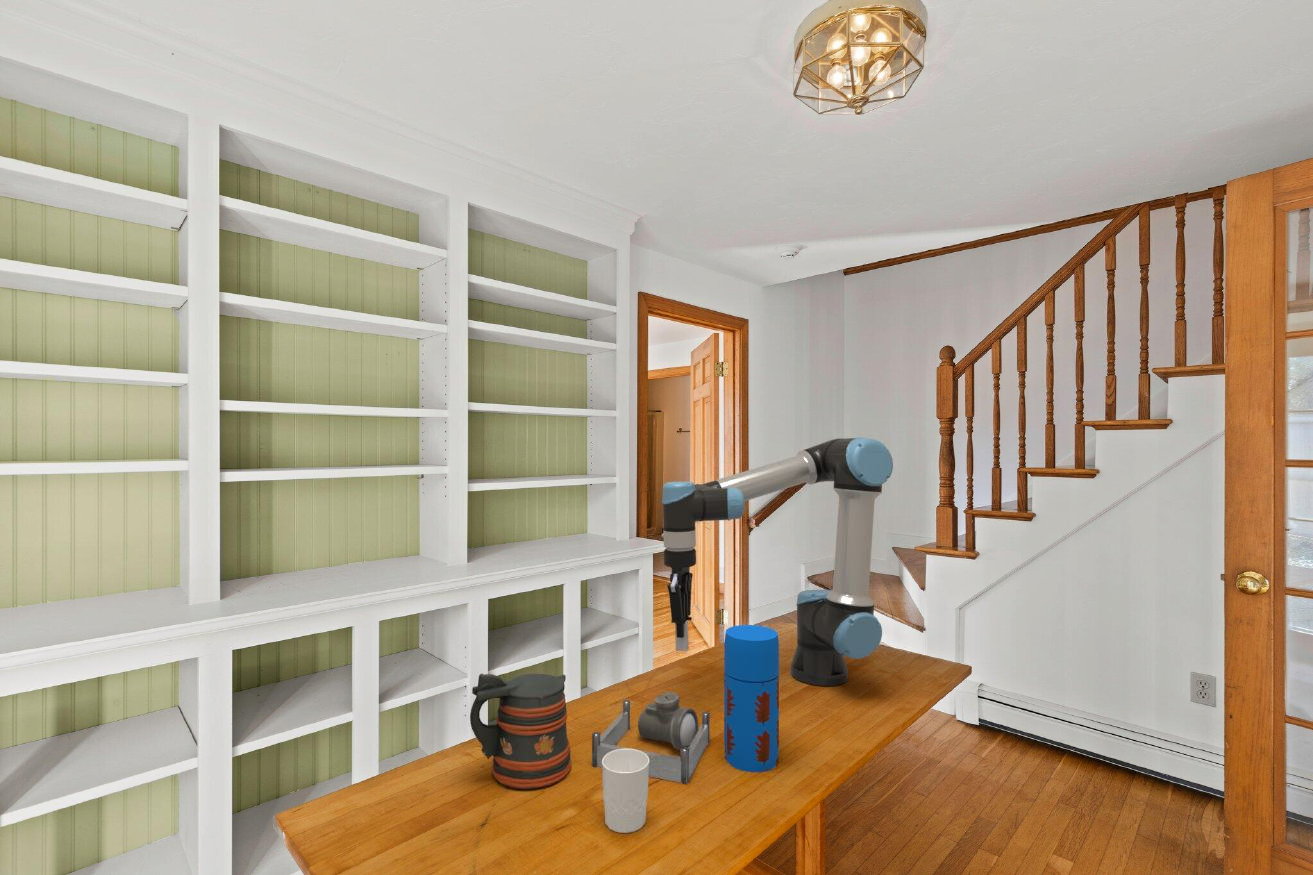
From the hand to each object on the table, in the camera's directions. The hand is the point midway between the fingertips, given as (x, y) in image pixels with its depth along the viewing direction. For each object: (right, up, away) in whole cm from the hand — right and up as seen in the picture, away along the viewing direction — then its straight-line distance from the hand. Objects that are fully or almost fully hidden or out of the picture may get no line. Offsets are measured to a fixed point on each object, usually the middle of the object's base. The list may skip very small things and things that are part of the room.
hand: (682, 649), depth 141 cm
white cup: (-11, -15, -40) cm, 44 cm away
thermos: (+13, -15, -20) cm, 28 cm away
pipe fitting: (-4, -15, -13) cm, 21 cm away
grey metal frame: (-7, -15, -18) cm, 24 cm away
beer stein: (-32, -15, -26) cm, 43 cm away
